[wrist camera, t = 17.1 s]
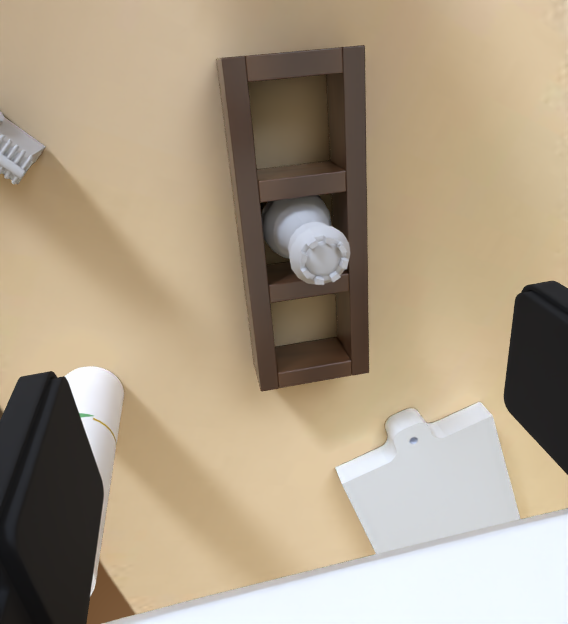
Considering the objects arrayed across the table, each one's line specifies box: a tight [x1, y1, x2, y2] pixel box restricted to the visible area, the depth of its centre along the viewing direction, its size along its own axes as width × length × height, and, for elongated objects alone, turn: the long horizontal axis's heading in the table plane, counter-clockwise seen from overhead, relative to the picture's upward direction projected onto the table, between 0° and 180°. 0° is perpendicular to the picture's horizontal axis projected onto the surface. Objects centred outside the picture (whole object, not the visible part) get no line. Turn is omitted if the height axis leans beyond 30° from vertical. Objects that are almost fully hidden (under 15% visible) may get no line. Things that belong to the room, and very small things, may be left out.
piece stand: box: [216, 45, 369, 391], centre depth 33 cm, size 7×20×4 cm, turn 5°
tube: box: [65, 367, 124, 596], centre depth 30 cm, size 4×4×15 cm
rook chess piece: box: [261, 195, 350, 285], centre depth 30 cm, size 4×4×8 cm
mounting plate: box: [335, 402, 520, 554], centre depth 45 cm, size 18×13×2 cm
